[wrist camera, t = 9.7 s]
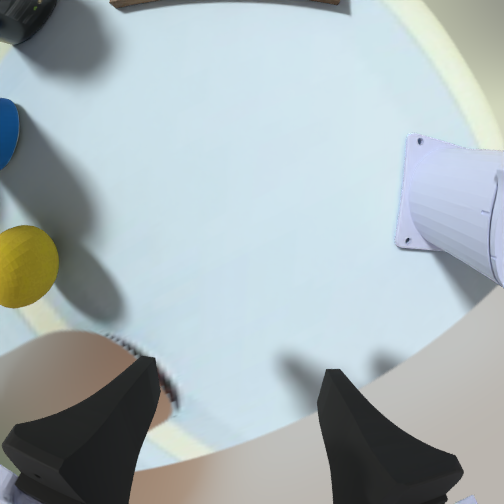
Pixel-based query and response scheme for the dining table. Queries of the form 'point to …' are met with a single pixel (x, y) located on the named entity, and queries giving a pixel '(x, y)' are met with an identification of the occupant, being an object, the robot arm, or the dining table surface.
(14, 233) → the lemon
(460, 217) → the robot arm
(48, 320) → the dining table surface
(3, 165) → the beverage can
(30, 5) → the supplement bottle
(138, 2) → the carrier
